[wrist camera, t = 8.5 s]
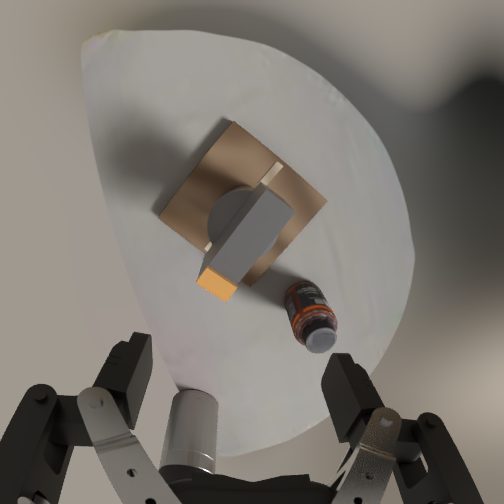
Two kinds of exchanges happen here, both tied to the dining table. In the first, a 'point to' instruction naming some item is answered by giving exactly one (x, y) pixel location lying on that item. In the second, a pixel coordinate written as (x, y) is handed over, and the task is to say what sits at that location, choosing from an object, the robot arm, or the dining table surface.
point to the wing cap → (240, 236)
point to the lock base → (233, 171)
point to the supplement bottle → (311, 317)
